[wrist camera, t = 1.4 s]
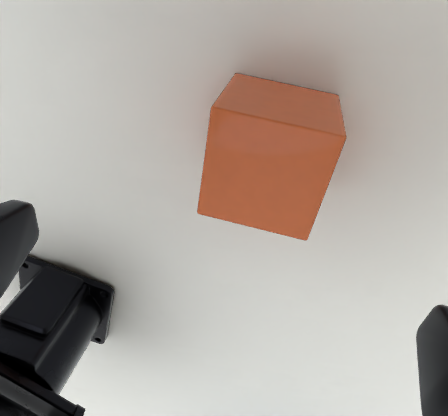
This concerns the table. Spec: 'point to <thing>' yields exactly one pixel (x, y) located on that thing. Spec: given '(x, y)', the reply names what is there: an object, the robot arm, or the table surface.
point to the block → (270, 155)
